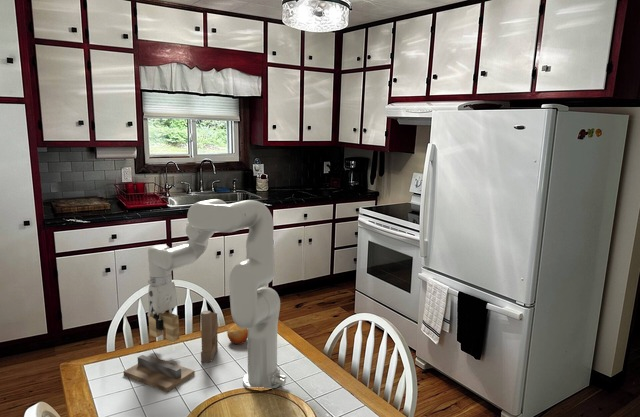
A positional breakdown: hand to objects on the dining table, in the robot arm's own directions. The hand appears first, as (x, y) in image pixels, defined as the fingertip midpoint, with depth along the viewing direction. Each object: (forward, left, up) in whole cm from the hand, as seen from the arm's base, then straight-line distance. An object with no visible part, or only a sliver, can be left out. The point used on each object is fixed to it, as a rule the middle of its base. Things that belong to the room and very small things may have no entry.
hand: (163, 327), depth 169 cm
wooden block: (-16, -6, -10) cm, 20 cm away
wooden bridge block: (0, 0, -4) cm, 4 cm away
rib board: (-11, +13, -9) cm, 20 cm away
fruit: (-18, -20, -10) cm, 29 cm away
